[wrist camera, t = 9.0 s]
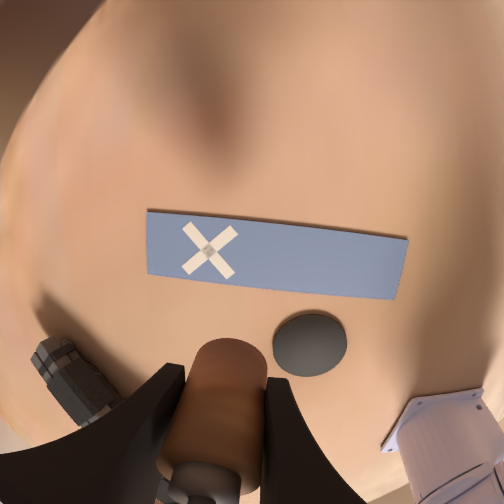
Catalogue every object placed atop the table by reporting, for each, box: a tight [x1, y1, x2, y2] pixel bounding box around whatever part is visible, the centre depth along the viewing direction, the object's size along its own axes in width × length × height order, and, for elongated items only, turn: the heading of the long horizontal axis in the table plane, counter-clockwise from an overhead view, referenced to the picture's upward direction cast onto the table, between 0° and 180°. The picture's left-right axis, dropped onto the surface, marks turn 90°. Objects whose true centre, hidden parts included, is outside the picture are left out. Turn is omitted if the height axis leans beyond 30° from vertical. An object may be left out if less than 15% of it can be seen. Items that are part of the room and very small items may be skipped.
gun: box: [30, 336, 180, 504], centre depth 21 cm, size 4×20×10 cm, turn 43°
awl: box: [156, 338, 267, 504], centre depth 7 cm, size 3×3×7 cm
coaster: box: [273, 315, 347, 377], centre depth 19 cm, size 5×5×1 cm
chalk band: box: [147, 212, 409, 300], centre depth 17 cm, size 16×4×1 cm, turn 85°
